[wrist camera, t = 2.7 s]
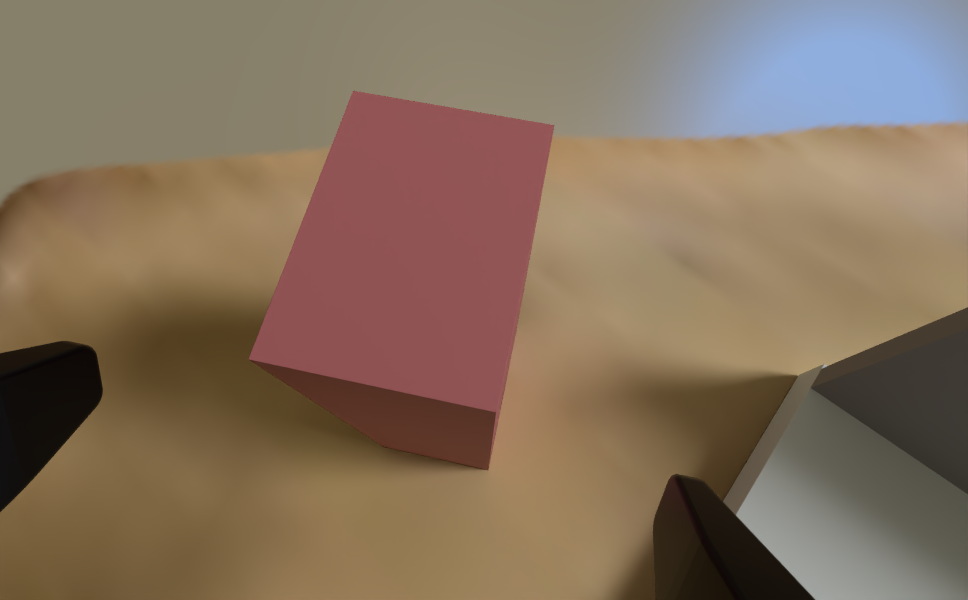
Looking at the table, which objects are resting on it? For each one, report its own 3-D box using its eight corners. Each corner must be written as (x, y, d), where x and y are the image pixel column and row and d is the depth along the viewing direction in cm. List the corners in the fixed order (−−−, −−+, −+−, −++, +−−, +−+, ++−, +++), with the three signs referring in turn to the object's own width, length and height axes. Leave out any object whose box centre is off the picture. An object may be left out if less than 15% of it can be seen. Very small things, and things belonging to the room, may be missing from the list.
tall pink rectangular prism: (488, 470, 17) (495, 412, 7) (383, 446, 18) (248, 358, 8) (516, 329, 19) (554, 125, 9) (421, 310, 20) (353, 91, 9)
